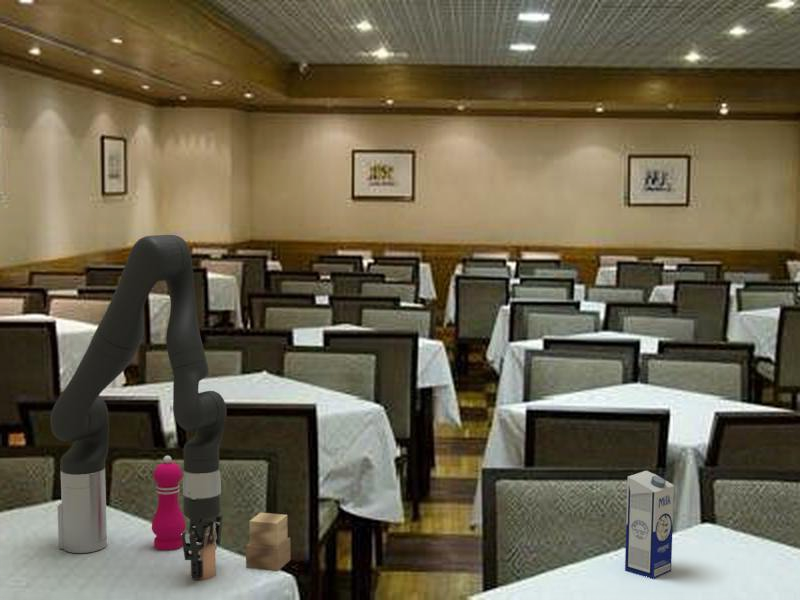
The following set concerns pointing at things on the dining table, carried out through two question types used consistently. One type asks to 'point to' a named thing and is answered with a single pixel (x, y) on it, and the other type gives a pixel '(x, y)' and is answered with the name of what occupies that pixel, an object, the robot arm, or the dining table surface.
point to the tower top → (268, 529)
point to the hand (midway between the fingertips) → (203, 572)
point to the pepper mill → (168, 507)
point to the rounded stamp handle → (209, 561)
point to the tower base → (268, 556)
